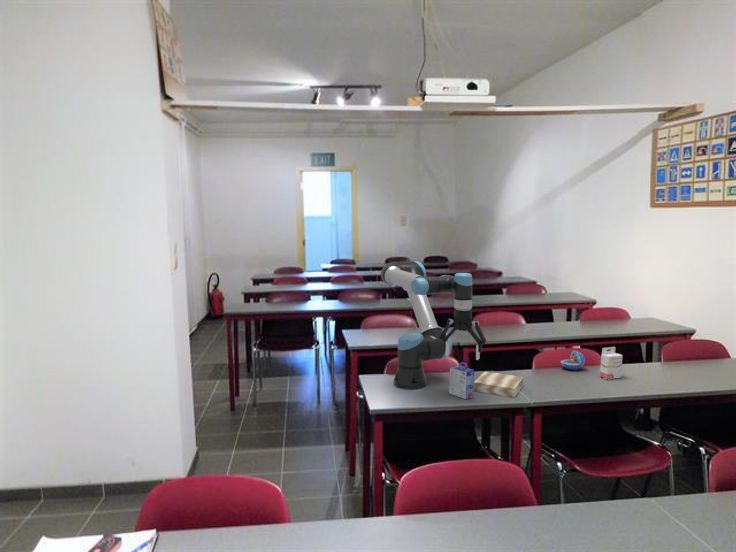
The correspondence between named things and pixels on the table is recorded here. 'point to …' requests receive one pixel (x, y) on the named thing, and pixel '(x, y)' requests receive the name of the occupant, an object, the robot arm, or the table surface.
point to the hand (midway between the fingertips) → (462, 357)
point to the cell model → (574, 361)
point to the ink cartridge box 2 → (610, 363)
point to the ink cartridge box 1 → (461, 381)
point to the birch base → (498, 384)
